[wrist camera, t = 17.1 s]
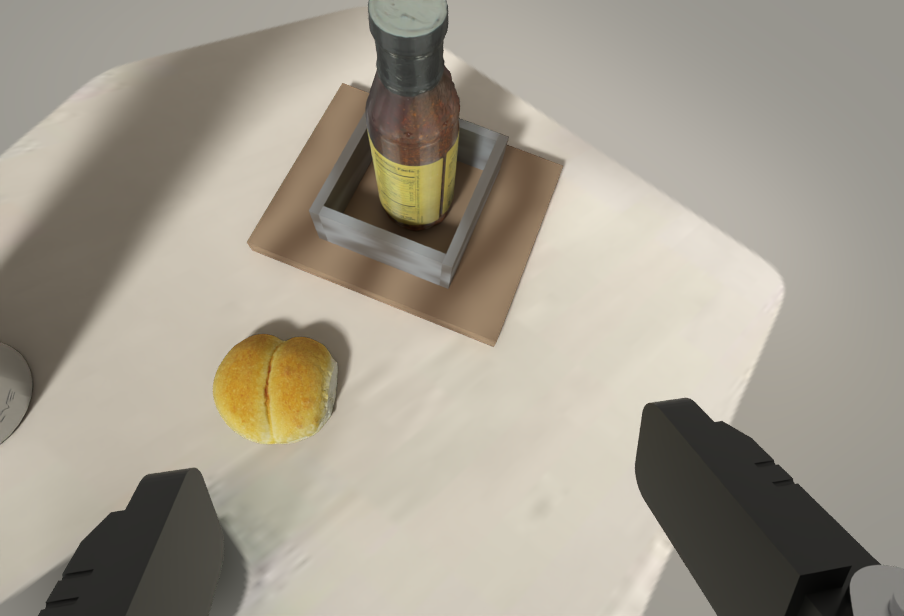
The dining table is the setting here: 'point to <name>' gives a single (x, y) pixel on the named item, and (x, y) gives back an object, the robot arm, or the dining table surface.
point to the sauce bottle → (412, 112)
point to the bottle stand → (403, 250)
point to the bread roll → (276, 388)
